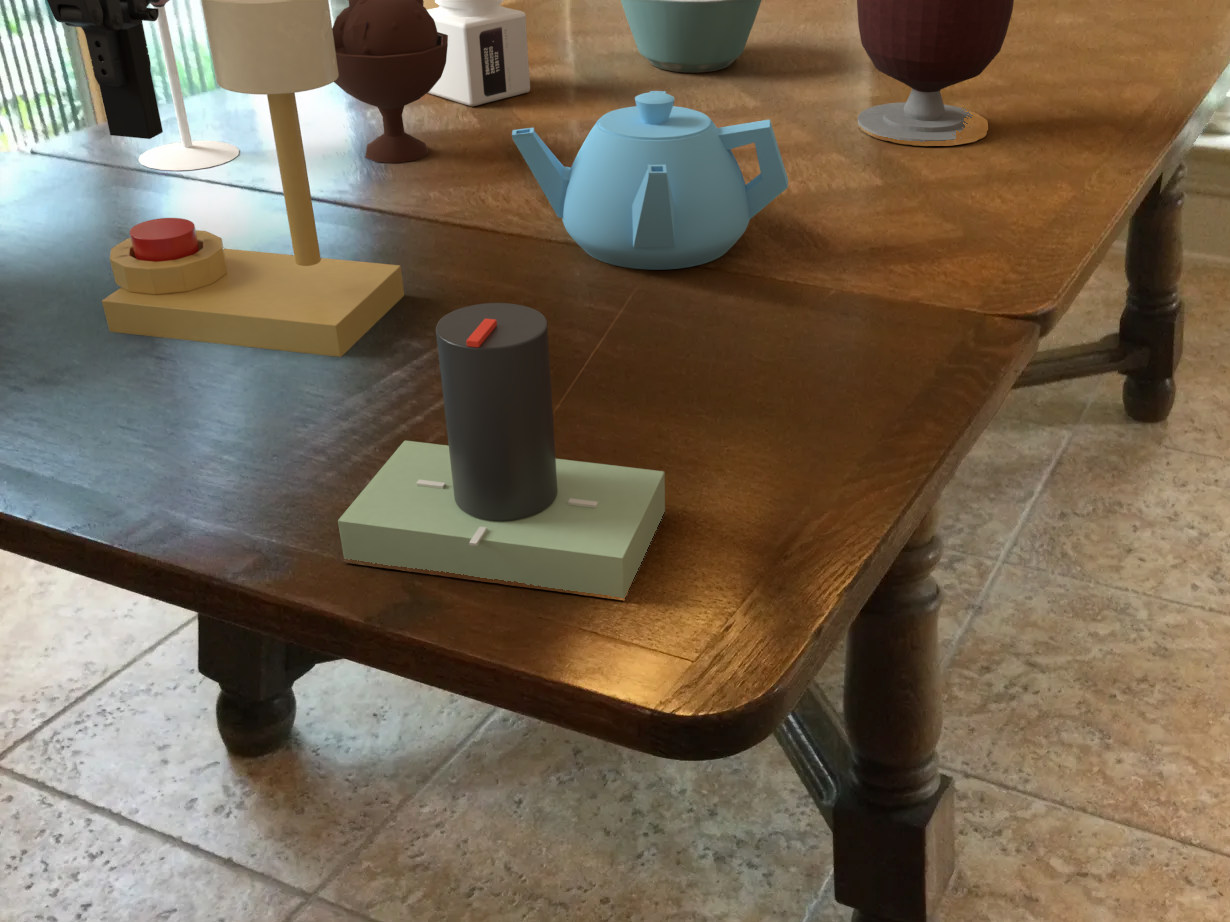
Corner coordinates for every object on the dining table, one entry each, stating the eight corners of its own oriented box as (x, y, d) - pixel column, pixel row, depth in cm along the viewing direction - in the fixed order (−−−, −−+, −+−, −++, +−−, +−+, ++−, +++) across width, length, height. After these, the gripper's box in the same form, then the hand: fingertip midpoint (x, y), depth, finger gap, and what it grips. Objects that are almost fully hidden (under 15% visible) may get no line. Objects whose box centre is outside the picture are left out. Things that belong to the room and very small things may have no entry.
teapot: (651, 299, 92) (649, 142, 86) (511, 242, 101) (501, 95, 95) (797, 242, 101) (804, 97, 95) (658, 194, 110) (657, 58, 104)
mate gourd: (904, 158, 119) (926, -90, 108) (820, 117, 129) (833, -113, 118) (1041, 135, 125) (1076, -101, 114) (951, 98, 135) (975, -122, 124)
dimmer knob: (475, 463, 68) (458, 291, 63) (570, 474, 67) (560, 301, 62) (438, 514, 64) (417, 335, 59) (539, 527, 63) (526, 346, 58)
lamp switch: (122, 262, 87) (116, 236, 86) (156, 240, 90) (151, 215, 89) (179, 267, 86) (173, 241, 85) (211, 245, 90) (206, 220, 89)
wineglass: (216, 133, 122) (164, -137, 110) (260, 159, 116) (211, -123, 104) (118, 150, 117) (53, -129, 105) (159, 179, 111) (95, -114, 99)
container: (532, 92, 135) (523, -48, 127) (471, 108, 130) (459, -37, 123) (482, 78, 139) (471, -58, 132) (421, 92, 134) (406, -48, 127)
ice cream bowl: (318, 144, 120) (291, -37, 111) (439, 129, 124) (422, -46, 116) (348, 179, 112) (322, -12, 104) (477, 162, 116) (461, -23, 108)
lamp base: (88, 330, 87) (73, 271, 85) (172, 272, 95) (160, 217, 93) (341, 357, 84) (331, 297, 82) (404, 295, 92) (397, 239, 90)
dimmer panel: (339, 570, 65) (331, 524, 63) (414, 475, 72) (408, 431, 71) (620, 609, 62) (619, 562, 61) (668, 506, 70) (667, 462, 68)
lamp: (230, 277, 84) (175, -2, 75) (283, 237, 90) (238, -26, 81) (334, 287, 83) (291, 6, 74) (381, 247, 89) (347, -19, 80)
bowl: (738, 88, 137) (740, 2, 132) (595, 73, 141) (592, -10, 136) (780, 52, 150) (783, -27, 145) (647, 40, 153) (646, -38, 149)
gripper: (27, -309, 65) (132, 171, 78) (172, -313, 76) (243, 110, 89) (-110, -314, 66) (16, 160, 79) (52, -318, 77) (140, 100, 90)
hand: (136, 133), depth 84 cm, fingers closed
